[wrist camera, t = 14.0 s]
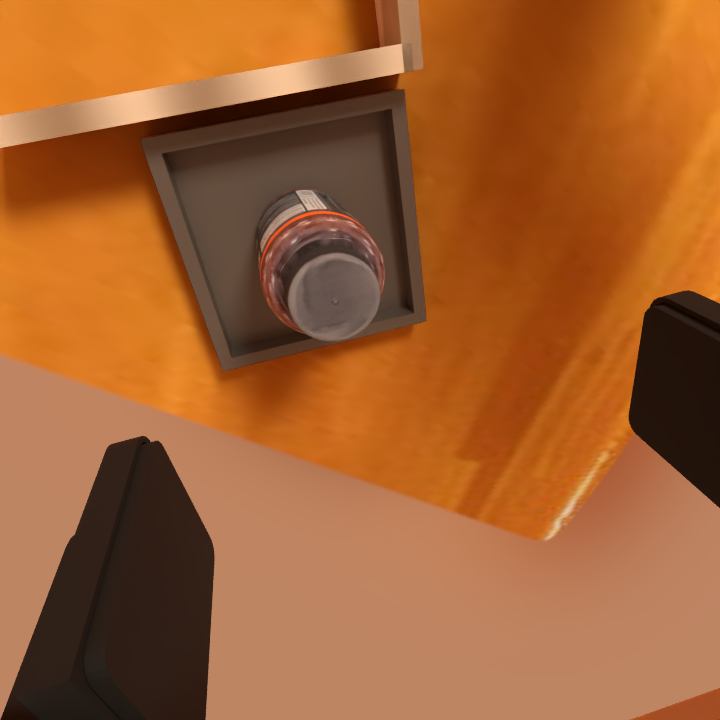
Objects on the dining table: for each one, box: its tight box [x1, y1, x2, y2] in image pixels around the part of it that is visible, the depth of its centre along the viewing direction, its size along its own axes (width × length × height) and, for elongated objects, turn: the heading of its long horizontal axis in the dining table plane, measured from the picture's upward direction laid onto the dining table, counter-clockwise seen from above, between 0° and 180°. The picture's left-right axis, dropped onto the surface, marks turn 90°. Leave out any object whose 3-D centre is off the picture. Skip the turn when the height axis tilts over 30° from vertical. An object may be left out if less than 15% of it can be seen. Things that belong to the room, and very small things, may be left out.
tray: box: [140, 89, 427, 371], centre depth 29 cm, size 14×14×2 cm
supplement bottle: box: [256, 189, 385, 342], centre depth 25 cm, size 6×6×11 cm
